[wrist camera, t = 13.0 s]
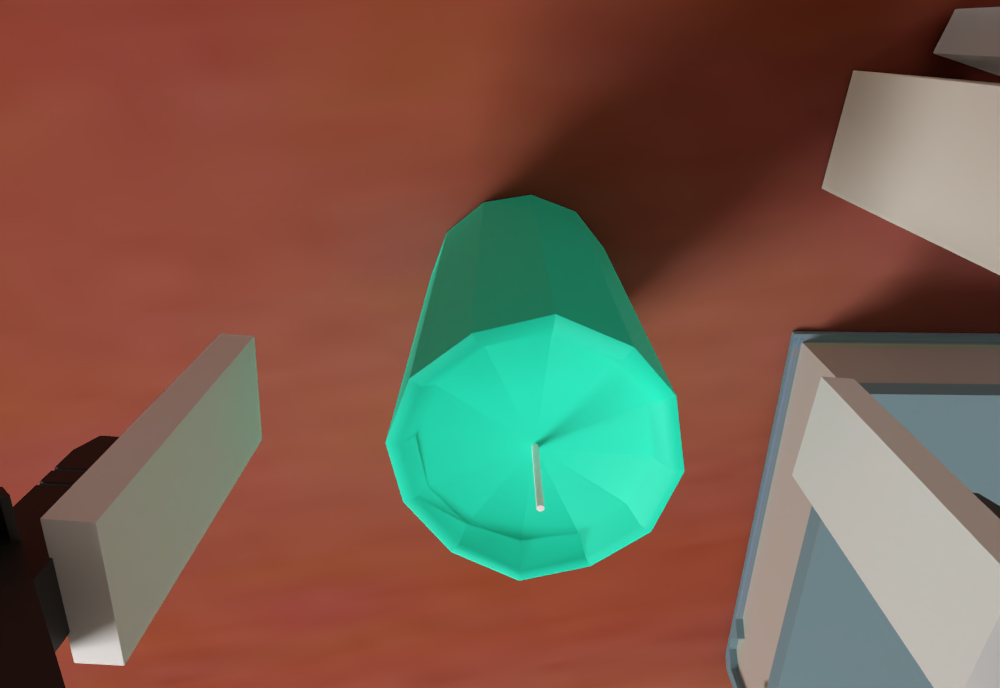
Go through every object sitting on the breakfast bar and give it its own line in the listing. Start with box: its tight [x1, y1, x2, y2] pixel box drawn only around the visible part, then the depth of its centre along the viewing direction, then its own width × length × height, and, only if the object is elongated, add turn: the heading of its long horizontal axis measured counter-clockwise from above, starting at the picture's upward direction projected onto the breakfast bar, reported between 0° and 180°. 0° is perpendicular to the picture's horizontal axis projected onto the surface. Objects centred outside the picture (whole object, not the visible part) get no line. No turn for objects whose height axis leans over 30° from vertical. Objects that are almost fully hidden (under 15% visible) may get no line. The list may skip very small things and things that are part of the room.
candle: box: [386, 195, 684, 581], centre depth 18 cm, size 6×6×12 cm
